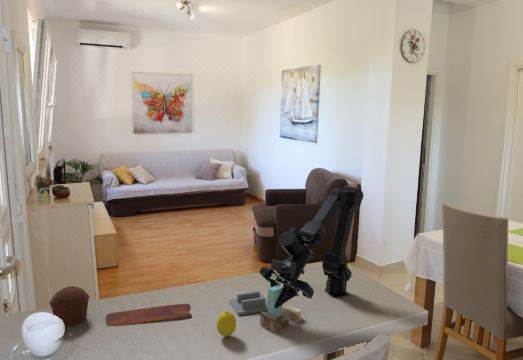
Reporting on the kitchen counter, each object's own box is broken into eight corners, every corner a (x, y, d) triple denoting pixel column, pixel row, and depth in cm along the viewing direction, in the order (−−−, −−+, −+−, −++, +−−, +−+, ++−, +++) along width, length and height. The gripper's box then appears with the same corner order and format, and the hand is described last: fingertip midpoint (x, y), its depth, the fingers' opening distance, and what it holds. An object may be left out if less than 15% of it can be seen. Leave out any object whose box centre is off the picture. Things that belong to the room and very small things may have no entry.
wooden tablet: (189, 305, 142) (189, 301, 142) (192, 319, 133) (192, 314, 133) (106, 313, 136) (106, 309, 135) (103, 329, 126) (103, 324, 126)
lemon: (237, 340, 120) (238, 314, 119) (218, 343, 119) (218, 316, 118) (233, 330, 126) (233, 305, 124) (215, 333, 124) (215, 308, 123)
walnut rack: (275, 317, 134) (275, 305, 134) (289, 324, 130) (289, 312, 129) (259, 325, 129) (260, 312, 129) (274, 332, 125) (274, 319, 124)
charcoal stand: (262, 297, 148) (262, 287, 148) (272, 310, 139) (273, 300, 138) (229, 302, 144) (229, 292, 144) (238, 315, 135) (238, 305, 134)
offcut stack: (283, 311, 139) (283, 302, 138) (302, 319, 134) (302, 311, 133) (277, 314, 137) (277, 305, 136) (296, 323, 131) (297, 314, 131)
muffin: (85, 327, 126) (84, 296, 124) (45, 330, 124) (43, 299, 122) (93, 309, 137) (91, 280, 136) (56, 311, 135) (54, 282, 133)
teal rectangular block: (276, 321, 132) (277, 285, 130) (281, 323, 130) (283, 287, 128) (267, 325, 129) (268, 288, 127) (273, 328, 127) (274, 291, 125)
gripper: (263, 242, 135) (237, 284, 129) (309, 257, 122) (283, 305, 116) (279, 259, 142) (255, 300, 136) (324, 275, 129) (300, 321, 123)
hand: (272, 306), depth 128 cm, fingers closed on teal rectangular block, 2 cm apart
